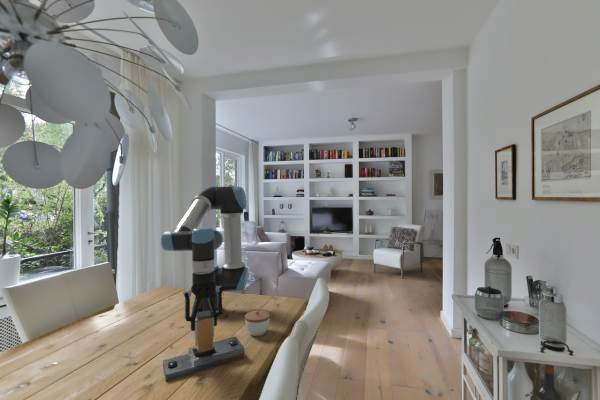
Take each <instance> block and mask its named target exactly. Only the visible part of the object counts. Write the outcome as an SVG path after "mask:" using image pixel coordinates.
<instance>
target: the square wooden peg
mask: <svg viewBox="0 0 600 400" xmlns="http://www.w3.org/2000/svg"><path fill="white" fill-rule="evenodd" d="M196 320H197V332H198V341H195V340H194V342H195V347H196V349H197V351H198V353H200V352H203V351H207V350H211V349H213V342H214V337H213V314H212V313H211V312H210V310H209V311H204V312H198V313H197V315H196Z"/></svg>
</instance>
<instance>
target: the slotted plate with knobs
mask: <svg viewBox="0 0 600 400" xmlns="http://www.w3.org/2000/svg"><path fill="white" fill-rule="evenodd" d="M244 359H245V347H244V345H243V344H242V343H241V341H240V340H239V339H238V338H237V337H236V336H232V337H228V338H225V339H220V340H217V341H213V349H211V350H207V351H203V352H200V353H198V351H197V349H196V346H192V347H188V353H186V354H182V355H179V356H175V357H170V358H167V359H164V360H162V369H163V373H164V378H165V382H168V381H172V380H175V379H180V378H182V377H185V376H189V375H193V374H195V373H200V372H203V371H207V370H210V369H214V368H217V367H220V366H224V365H226V364H231V363H234V362H239V361H241V360H244Z"/></svg>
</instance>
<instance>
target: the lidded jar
mask: <svg viewBox="0 0 600 400" xmlns="http://www.w3.org/2000/svg"><path fill="white" fill-rule="evenodd" d="M270 317H271V314H270V313H269V311H265V310H251V311H248V312H247V313H246V314H245V315H244V319H245V322H244V323H245V328H246V330H247V332H248V333H249V334H250V335H251V336H254V337H259V336H263V335H264V334H266V332H267V331H268V329H269V327H270V321H271V319H270Z"/></svg>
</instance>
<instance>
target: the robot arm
mask: <svg viewBox="0 0 600 400" xmlns="http://www.w3.org/2000/svg"><path fill="white" fill-rule="evenodd" d="M247 203H248V202H247V196H246V192H245V189H244V188H243V187H242V186H235V185H234V186H233V185H231V186H209V187H207V188H204V189H203V190H201V191H199V192H198V193H197V194H196V195H195V196H194V197H193V198H192V200H191V202H190V207H189V208H188V209H187V211H186V212H185V214H184V215H183V216H182V217H181V220H180V221H179V223H178V224H177V225H176V226H175V228H174V229H173V230H169V231H165V232H163V234H162V235H161V240H160V245H161V248H162V249H163V250H164V251H168V252H169V251H170V252H183V251H185V252H187V251H191V253H192V254H191V260H192V261H191V263H192V266H191V267H192V269H191V270H192V274H191V275H192V277H191V278H192V281H191V282H192V285H191V288H190V289H188V290H184V291H183V297H184V319H185V321H186V322H190V330H191V332H193V339H194V342H195V341H198V332H197V320H196V315H197V313H198V312H204V311H209V310H210V312H211V313H212V314H213V338H214V337H215V327H217V325H218V317H219V316H221V315H222V314H223V292H238V291H239V292H241V291H245V289H246V287H247V282H248V278H249V277H248V276H249V268H248V267H246V265H245V263H244V261H243V260H242V259H243V257H242V222H241V221H242V219H241V216H242V215H243V214H244V210H246V209H247ZM211 210H219V212H220V215H221V216H222V217H223V233H221V232H220V231H219V230H218V229H216V230H215V229H214V228H212V227H199V226H200V224H201V223H202V221H203V219H204V217H205V215H206V214H208V213H209V212H210V211H211ZM222 245H224V247H223V248H224V262H223V264H222V265H221V267H220V265H218V264H215V250H218V249H219V248H220V247H221V246H222ZM192 294H193V295H194V301H193V305H192V307H191V299H190V298H191V296H192ZM190 311H191V312H190Z"/></svg>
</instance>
